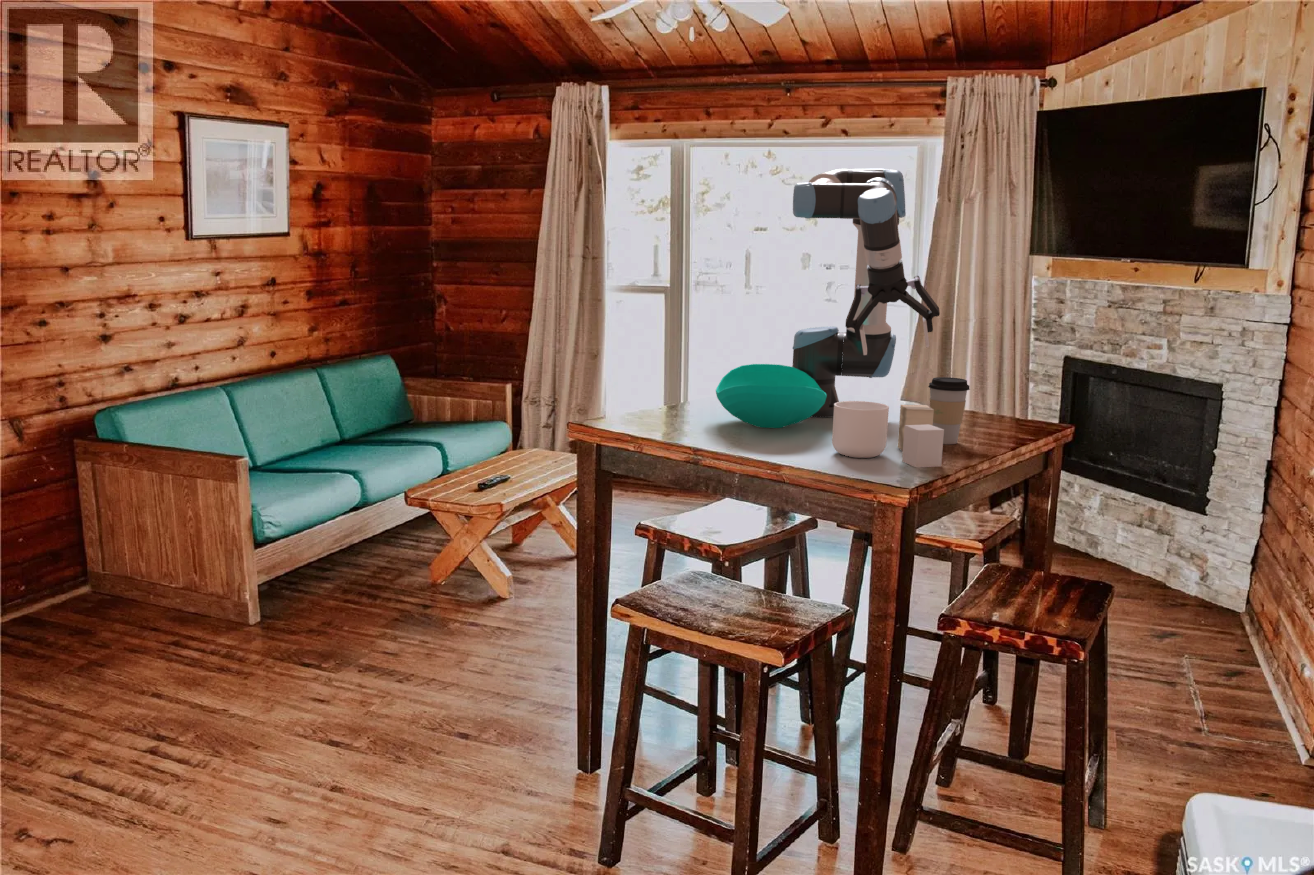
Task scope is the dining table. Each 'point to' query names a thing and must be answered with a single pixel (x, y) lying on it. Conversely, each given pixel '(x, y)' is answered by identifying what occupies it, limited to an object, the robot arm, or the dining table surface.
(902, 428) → the birch block
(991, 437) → the dining table surface
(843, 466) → the dining table surface
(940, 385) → the coffee cup
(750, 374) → the table top decor
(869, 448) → the handleless ceramic cup
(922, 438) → the pale pink block
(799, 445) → the dining table surface
